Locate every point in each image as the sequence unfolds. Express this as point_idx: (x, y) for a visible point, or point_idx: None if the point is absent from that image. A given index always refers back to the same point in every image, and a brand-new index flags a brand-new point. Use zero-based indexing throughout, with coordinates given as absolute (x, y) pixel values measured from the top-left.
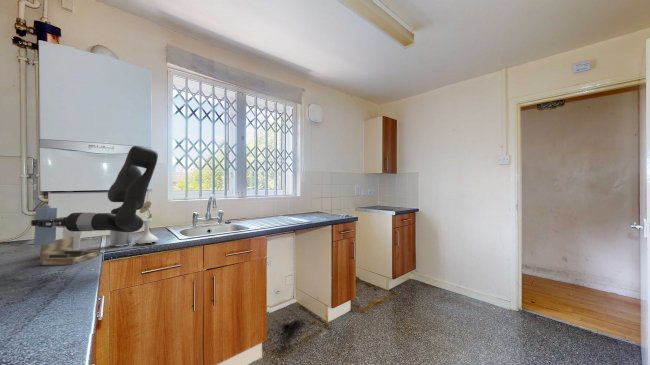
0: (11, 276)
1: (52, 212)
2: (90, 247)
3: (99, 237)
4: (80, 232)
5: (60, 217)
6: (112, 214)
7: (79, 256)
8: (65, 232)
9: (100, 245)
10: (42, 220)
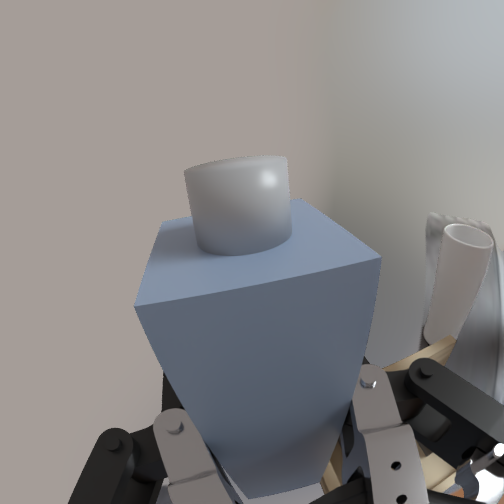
0: (159, 498)
1: (285, 355)
2: (481, 308)
3: (490, 236)
4: (480, 287)
5: (366, 455)
6: None
7: (425, 453)
8: (443, 276)
9: (499, 303)
10: (95, 474)
